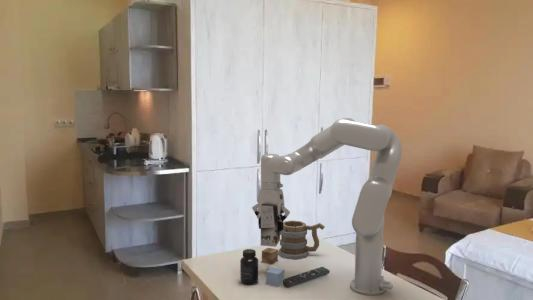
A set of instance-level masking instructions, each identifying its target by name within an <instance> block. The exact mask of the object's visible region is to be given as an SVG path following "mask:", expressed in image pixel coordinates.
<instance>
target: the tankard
mask: <svg viewBox="0 0 533 300" xmlns="http://www.w3.org/2000/svg"><path fill="white" fill-rule="evenodd" d="M318 229H321V230H322V231H323V230H324V229H325V225H324V224H322V223H321V222H319V223H316V224H313V225H307V224H306V223H305V222H303V221H300V220H287V221H285V220H284V221H283V230H282V231H280V241H279V246H280V248H279V249H278V256H280V257H282V258H283V259H289V260H301V259H305V258H307V256H308V255H309V253H310V252H311V253H312V252H314V253H315V252H317V250H318V248H319V246H320V240H319V236H318V231H317V230H318ZM308 231H311V236H312V240H313V242H314V244H313V246H308V239H307V238H306V237H307V234H308Z"/></svg>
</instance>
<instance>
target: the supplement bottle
mask: <svg viewBox="0 0 533 300" xmlns="http://www.w3.org/2000/svg"><path fill="white" fill-rule="evenodd" d="M256 255H257V253H256V250H255V249H254V248H247V249H243V251H242V257H241V259H240V260H239V261H240V262H239V264H240V265H239V268H240V269H239V271H240V272H239V273H240V275H239V277H240V278H239V279H240V280H239V281H240V283H241V284H243V285H246V286H248V285H249V286H251V285H256V284H257V283H258V282H259V259H258V257H257V256H256Z"/></svg>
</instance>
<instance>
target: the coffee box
mask: <svg viewBox="0 0 533 300" xmlns="http://www.w3.org/2000/svg"><path fill="white" fill-rule="evenodd" d="M277 222H279V221H278V218H277V205H270V204H262V205H261V229H260V246H262V247H264V246H265V247H274V248H275V247H277V246H278V244H279V243H280V240H281V235H280V232H278V231H277Z"/></svg>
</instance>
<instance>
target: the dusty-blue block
mask: <svg viewBox="0 0 533 300" xmlns="http://www.w3.org/2000/svg"><path fill="white" fill-rule="evenodd" d="M283 280H284V281H285V269H284V268H283V269H282V268H278V267H273V266H272V267H271V268H269V269H268V270H266V271H265V284H266V285H268V286H272V287H275V288H279V287H280V286H282V285H283V284H282V282H283Z"/></svg>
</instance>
